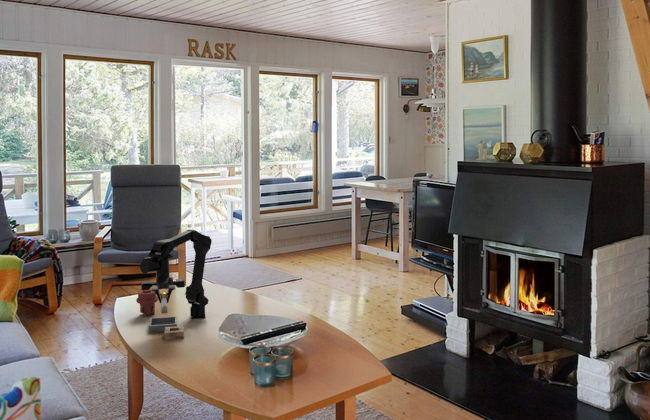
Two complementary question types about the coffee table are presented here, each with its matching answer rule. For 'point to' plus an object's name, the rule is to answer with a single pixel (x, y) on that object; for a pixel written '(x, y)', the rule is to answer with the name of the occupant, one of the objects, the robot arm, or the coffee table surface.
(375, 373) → the coffee table surface
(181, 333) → the block
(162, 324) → the tray
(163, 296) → the lock pin
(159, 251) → the robot arm
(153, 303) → the mechanical component
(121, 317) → the coffee table surface
